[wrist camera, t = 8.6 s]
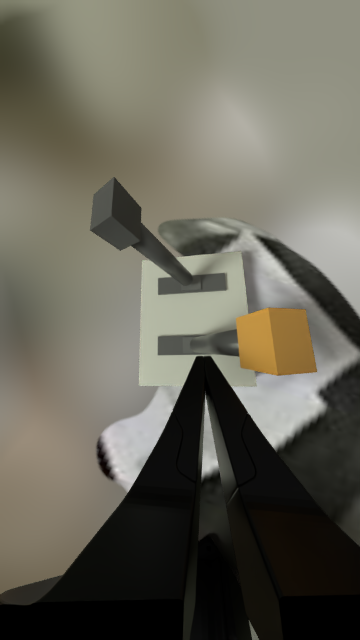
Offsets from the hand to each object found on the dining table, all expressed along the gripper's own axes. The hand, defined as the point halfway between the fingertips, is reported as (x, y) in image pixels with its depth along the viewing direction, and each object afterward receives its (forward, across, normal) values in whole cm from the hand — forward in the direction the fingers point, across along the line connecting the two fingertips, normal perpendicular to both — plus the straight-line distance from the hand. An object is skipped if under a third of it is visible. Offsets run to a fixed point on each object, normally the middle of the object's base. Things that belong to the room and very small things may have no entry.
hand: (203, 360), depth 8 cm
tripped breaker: (+6, +1, +5) cm, 8 cm away
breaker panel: (+11, +1, +4) cm, 12 cm away
